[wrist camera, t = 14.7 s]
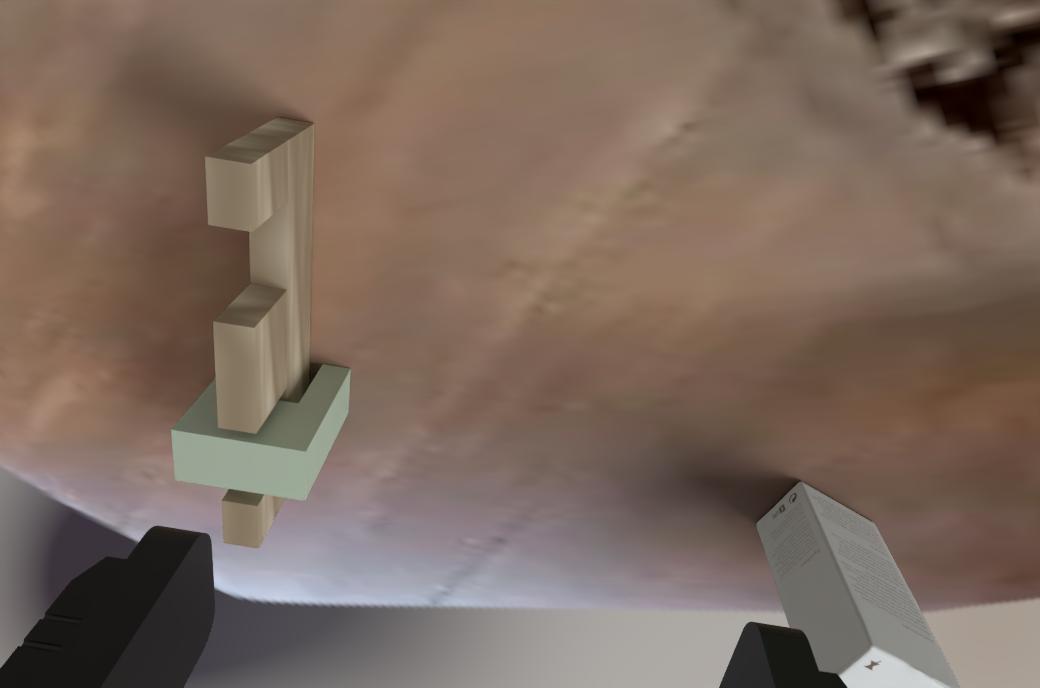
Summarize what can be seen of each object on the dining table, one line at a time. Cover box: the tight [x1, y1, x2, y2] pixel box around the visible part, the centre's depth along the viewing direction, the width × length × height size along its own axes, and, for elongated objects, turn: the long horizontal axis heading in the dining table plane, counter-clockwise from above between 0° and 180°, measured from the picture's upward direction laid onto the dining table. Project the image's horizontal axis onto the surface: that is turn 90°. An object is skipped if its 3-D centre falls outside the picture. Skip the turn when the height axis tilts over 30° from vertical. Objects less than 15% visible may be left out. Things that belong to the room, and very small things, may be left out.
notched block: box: [171, 364, 351, 501], centre depth 39 cm, size 6×3×8 cm, turn 81°
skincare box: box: [756, 482, 962, 688], centre depth 40 cm, size 6×4×12 cm
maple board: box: [205, 117, 315, 548], centre depth 37 cm, size 2×20×8 cm, turn 171°
